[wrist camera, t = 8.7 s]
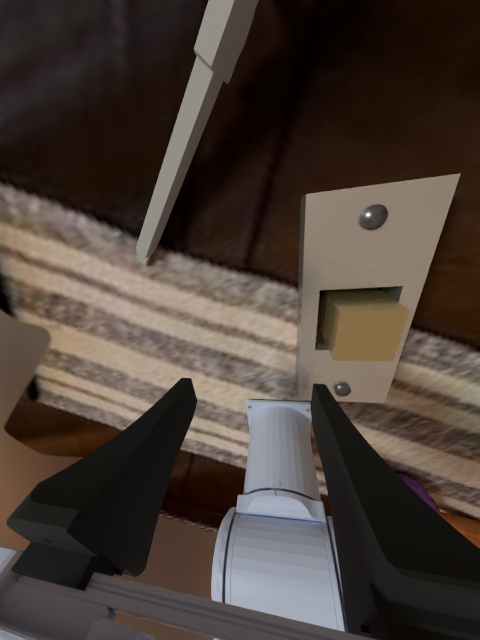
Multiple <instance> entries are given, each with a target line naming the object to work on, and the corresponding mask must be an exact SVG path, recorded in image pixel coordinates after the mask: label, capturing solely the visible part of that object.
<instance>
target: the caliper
mask: <svg viewBox="0 0 480 640" xmlns="http://www.w3.org/2000/svg"><path fill="white" fill-rule="evenodd" d="M258 1H259V0H209V1H208V4H207V7H206V11H205V14H204V17H203V21H202V24H201V27H200V31H199V34H198V37H197V41H196V44H195V48H194V51H195V54H196V55H197V57H196V61H195V64H194V67H193V70H192V73H191V76H190V79H189V83H188V86H187V89H186V92H185V95H184V98H183V101H182V105H181V108H180V111H179V114H178V117H177V120H176V124H175V127H174V130H173V133H172V136H171V139H170V142H169V146H168V149H167V152H166V155H165V158H164V161H163V164H162V168H161V171H160V174H159V177H158V180H157V183H156V187H155V190H154V193H153V196H152V199H151V202H150V205H149V209H148V212H147V215H146V218H145V221H144V225H143V228H142V231H141V234H140V237H139V240H138V244H137V247H136V250H135V251H137V252H138V254H137V257H136V258H137V260H138V261H140V262H141V263H142V264H144V265H145V266H147V265H148V263H149V260H150V258H151V255H152V254H153V253H154V251H155V249H156V247H157V245H158V243H159V241H160V239H161V236H162V234H163V231H164V229H165V226H166V224H167V221H168V218H169V216H170V213H171V211H172V208H173V206H174V203H175V201H176V198H177V196H178V193H179V191H180V188H181V186H182V183H183V180H184V178H185V175H186V173H187V170H188V168H189V165H190V163H191V160H192V158H193V155H194V153H195V150H196V148H197V145H198V143H199V140H200V138H201V135H202V133H203V130H204V128H205V125H206V123H207V120H208V118H209V115H210V113H211V110H212V108H213V105H214V103H215V100H216V98H217V95H218V93H219V90H220V88H221V85H222V83H223V81H224V82H226V83H227V84H228V83H229V81H230V79H231V76H232V73H233V70H234V67H235V64H236V62H237V59H238V57H239V55H240V53H241V51H242V49H243V47H244V45H245V41H246V38H247V35H248V32H249V29H250V26H251V23H252V20H253V17H254V10H255V8H256V6H257V3H258Z"/></svg>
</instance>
